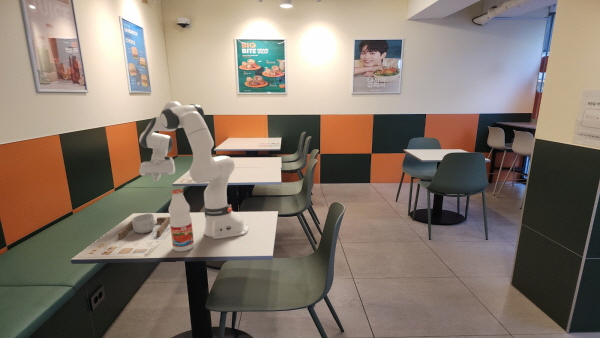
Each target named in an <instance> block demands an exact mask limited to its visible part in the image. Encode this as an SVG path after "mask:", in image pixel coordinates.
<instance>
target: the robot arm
mask: <svg viewBox="0 0 600 338" xmlns="http://www.w3.org/2000/svg"><path fill="white" fill-rule="evenodd" d="M203 109H204V108H202V107H201V105H199V104H196V103H191V104H185V105H182V104H181V103H180V102H178V101H176V100H175V101H174V100H171V101H168V102H167V103H165V105H164V106H163V108H162V110H161V112H160V114H159V115H158V116H155V117H153V118H152V119H151V120H150V121H149V122H148V124H147V126H146V127H145V129H144V130H143V131H142V133H140V136H139V138H138V139H139V144H140V146H141V147H143V148H147V149H152V154H151V158H150V160H149V161H147V160H146V161H143V162H141V163H140V165H139V170H138V173H139V175H140V176H143V177H144V176H145V177H146V176H147V177H148V176H152V181H153V182H159V181H160V178H161V177H162V175H163V176H166V175H174V174H175V173H176V166H175V161H174V159H173V158H172V156H168V153H170V152H171V151H172V150H173V143H174V139H173V138H172V136H170V135H167V134H163V133H157V132H173V131H176V130H177V129H181V128H183V130H184V132H185V135H186V138H187V139H188V142H189V145H190V148H191V151H192V162H191V166H190V167H189V177H190V179H191V180H192V181H193V182H195V183H197V184H203V183H208V185H207V186H206V188H205V189H204V191H203V198H204V199H203V200H204V207H203V212H204V218H205V227H204V232H203V234H204V235H205V236H206V237H209V238H212V239H214V240H217V239H226V238H231V237H233V238H234V237H238V236H244V235H246V234H247V233H248V232H249V225H248V224H247V223H245V222H244V219H243V217H242V215H240V214H238V213H237V212H234V210H233V208H232V204H228V196H227V189H228V185H229V184H228V183H229V179H230V177H231V174H232V173H233V172H234V170H235V162H234V160H233V159H232V157H230V156H229V155H228V156H227V155H217V156H214V157H213V155H212V149H213V147H215V146H214V145H215V142H214V140H213V137H212V134H211V132H210V130H209V128H208V125H207V124H206V121H205V112H204V110H203Z"/></svg>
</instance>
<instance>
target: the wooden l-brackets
mask: <svg viewBox="0 0 600 338" xmlns="http://www.w3.org/2000/svg"><path fill="white" fill-rule="evenodd" d="M170 217H171V216H163V217H162V216H161V217H158V216H157V218H156V224H161V225H160V226H159V227H158V229H157V230H156V237H161V236H162V235H163V233H164V232H165V231H166V229H167V227H168V226H169V225H170ZM133 229H134V228H133V225H132V221H131V220H130V221H129V222H128V223H127V224H126V225H125V226H124V228H123V229H121V230H120V231H119V232H118V234H117V236H118V240H123V238H125V237H126V236H127V235H128V234H129V233H130V232H131V230H133Z"/></svg>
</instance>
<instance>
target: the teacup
mask: <svg viewBox="0 0 600 338" xmlns="http://www.w3.org/2000/svg"><path fill="white" fill-rule="evenodd" d="M131 221H132V225H133V228H132V229H133V231H134V232H136V233H138V234H147V233H149V232H151V231H152V230H153V229H154V228H155V226H156V223H155V222H156V221H155V215H154V214H153V213H152V212H148V213H143V214H139V215H137V216H134V217H132V218H131V220H130V222H131Z"/></svg>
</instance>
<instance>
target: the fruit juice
mask: <svg viewBox="0 0 600 338" xmlns="http://www.w3.org/2000/svg"><path fill="white" fill-rule="evenodd" d="M171 195H172V197H171V201H170V204H169V206H168V213H169V217H170V224H169V225H170V227H169V228H170V234H171V235H170V237H171V243H172V249H173V250H174V252H181V253H182V252H186V251H190V250H191V249H193V248H194V245H195V240H194V231H193V224H192V216H191V214H190V212H191V206H190V204H189V203H188V202H187V200H186V198H185V196H184V189H182V188H175V189H172V190H171Z"/></svg>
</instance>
